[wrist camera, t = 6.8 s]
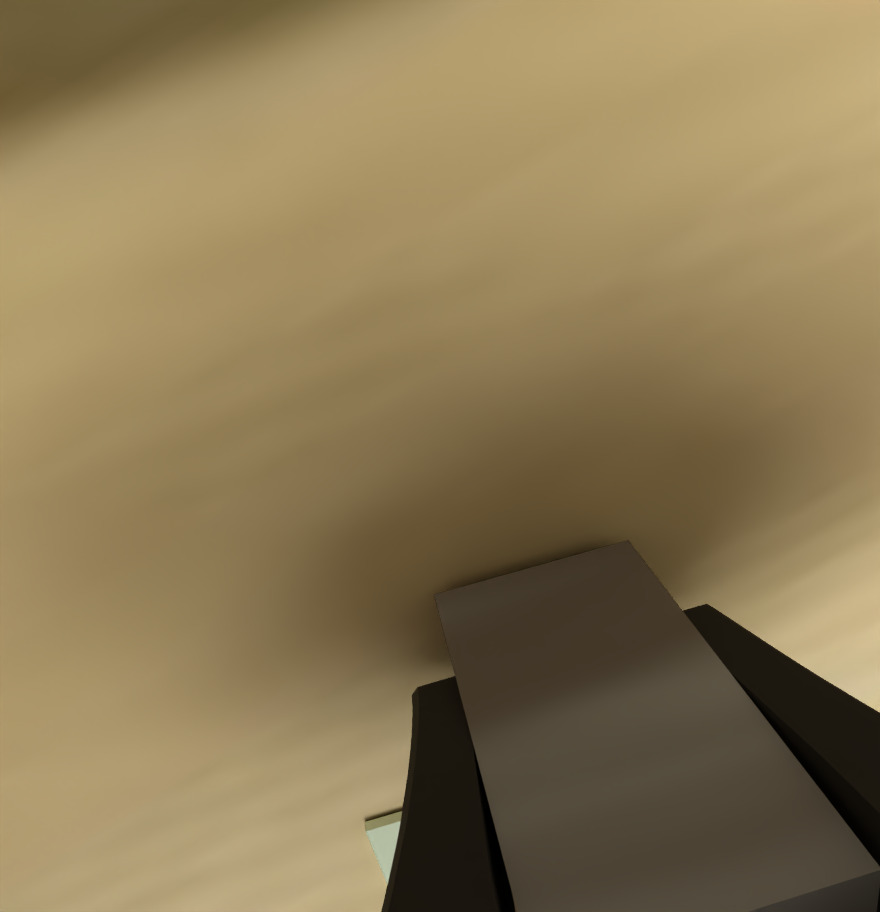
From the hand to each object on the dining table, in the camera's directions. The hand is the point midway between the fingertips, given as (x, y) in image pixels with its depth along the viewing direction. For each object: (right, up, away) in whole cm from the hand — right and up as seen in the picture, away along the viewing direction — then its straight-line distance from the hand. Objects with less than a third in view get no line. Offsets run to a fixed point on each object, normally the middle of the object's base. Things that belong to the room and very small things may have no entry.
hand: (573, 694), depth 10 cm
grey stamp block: (+1, -4, +4) cm, 6 cm away
